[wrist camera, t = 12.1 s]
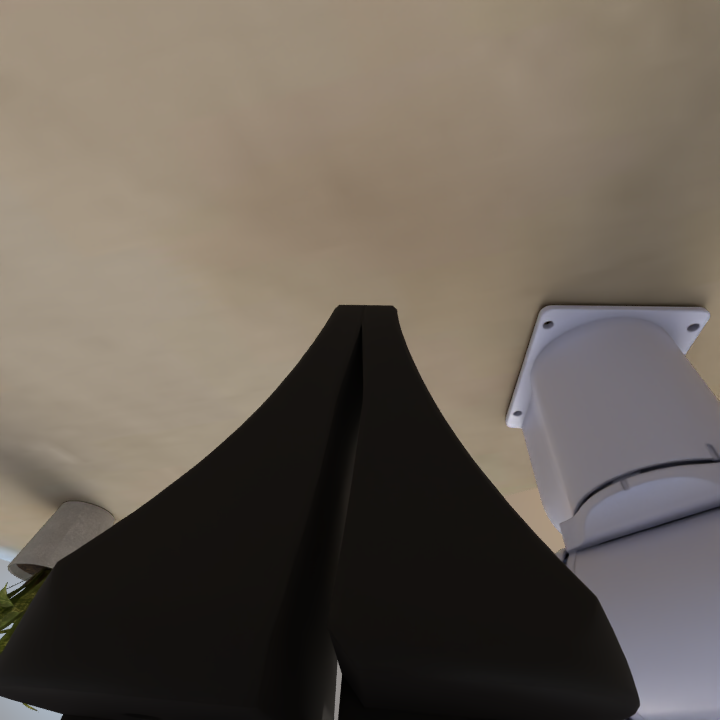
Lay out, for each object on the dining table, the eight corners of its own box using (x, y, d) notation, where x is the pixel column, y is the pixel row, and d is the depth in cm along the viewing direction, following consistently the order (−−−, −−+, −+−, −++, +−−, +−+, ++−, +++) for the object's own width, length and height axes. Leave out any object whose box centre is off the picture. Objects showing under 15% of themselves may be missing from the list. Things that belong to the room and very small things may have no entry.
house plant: (124, 472, 36) (-16, 719, 24) (189, 542, 45) (112, 745, 33) (-15, 473, 38) (-208, 700, 26) (74, 540, 47) (-38, 730, 35)
